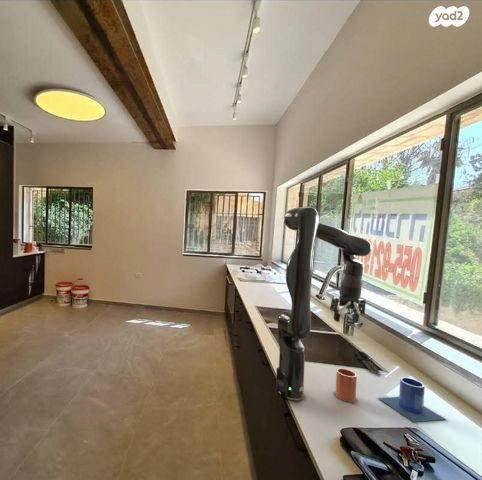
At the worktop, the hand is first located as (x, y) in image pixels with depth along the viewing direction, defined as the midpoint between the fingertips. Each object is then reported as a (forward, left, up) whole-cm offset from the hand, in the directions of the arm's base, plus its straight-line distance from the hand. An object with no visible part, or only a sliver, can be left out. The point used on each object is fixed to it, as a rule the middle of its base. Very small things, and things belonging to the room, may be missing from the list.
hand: (345, 321), depth 116 cm
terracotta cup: (-7, -9, -27) cm, 29 cm away
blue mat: (+12, -18, -27) cm, 35 cm away
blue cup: (+12, -18, -27) cm, 35 cm away
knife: (+27, +15, -27) cm, 41 cm away
